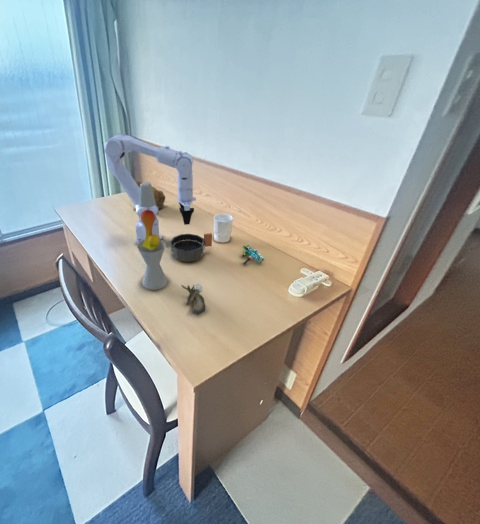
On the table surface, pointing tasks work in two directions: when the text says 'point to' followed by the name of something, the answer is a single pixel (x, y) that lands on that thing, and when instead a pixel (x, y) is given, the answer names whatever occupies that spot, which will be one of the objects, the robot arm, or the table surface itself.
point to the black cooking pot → (189, 246)
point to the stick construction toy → (251, 254)
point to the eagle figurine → (196, 298)
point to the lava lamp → (151, 242)
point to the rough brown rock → (157, 195)
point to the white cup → (222, 227)
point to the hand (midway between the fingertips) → (185, 220)
